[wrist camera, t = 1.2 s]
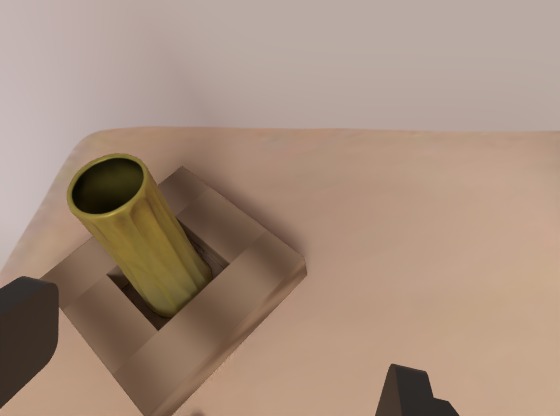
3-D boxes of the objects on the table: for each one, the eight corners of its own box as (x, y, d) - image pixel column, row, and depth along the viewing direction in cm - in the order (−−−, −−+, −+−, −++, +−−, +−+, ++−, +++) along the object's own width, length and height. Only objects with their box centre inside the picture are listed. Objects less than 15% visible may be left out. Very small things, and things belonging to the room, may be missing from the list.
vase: (157, 252, 41) (82, 146, 30) (220, 257, 40) (167, 148, 29) (135, 314, 38) (41, 221, 27) (202, 322, 37) (134, 227, 25)
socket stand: (191, 185, 46) (182, 166, 43) (307, 275, 38) (304, 257, 36) (57, 294, 40) (38, 279, 38) (160, 426, 32) (145, 418, 30)
